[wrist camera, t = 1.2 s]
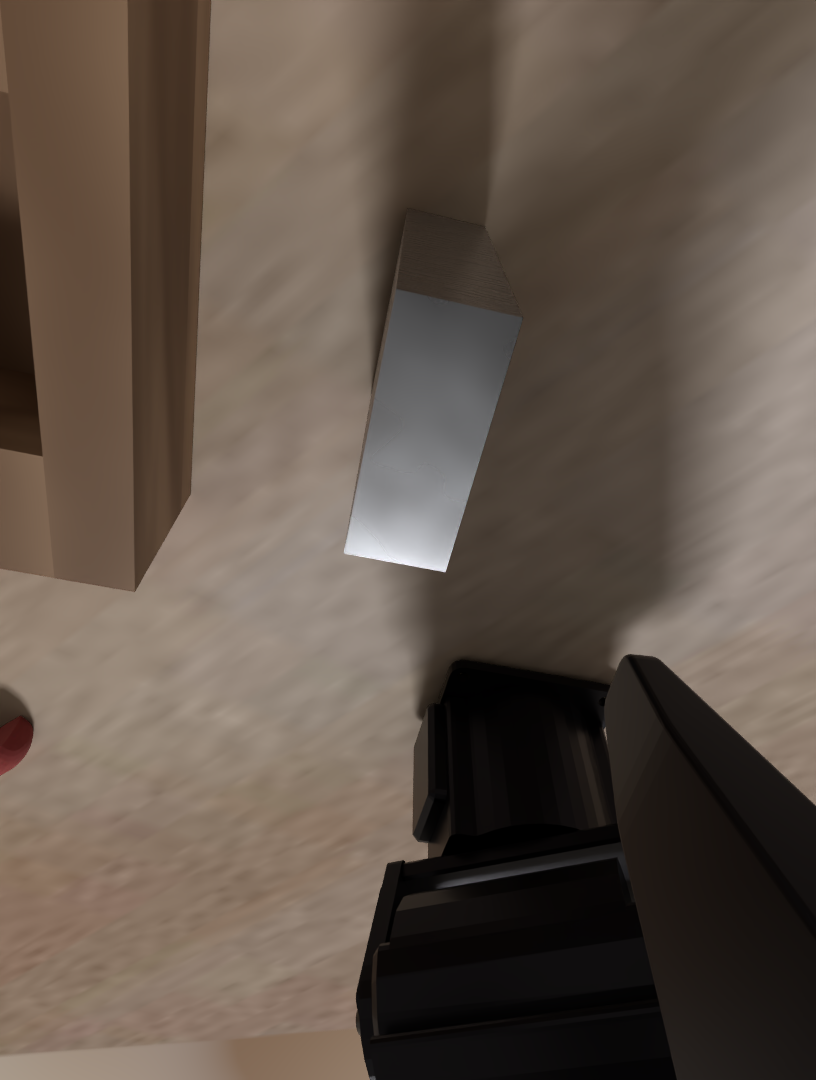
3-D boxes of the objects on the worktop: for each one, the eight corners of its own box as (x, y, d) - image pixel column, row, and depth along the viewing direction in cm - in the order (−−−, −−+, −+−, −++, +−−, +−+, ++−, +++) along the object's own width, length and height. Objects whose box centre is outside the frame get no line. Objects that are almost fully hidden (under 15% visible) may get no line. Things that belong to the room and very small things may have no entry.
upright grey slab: (485, 227, 17) (522, 317, 11) (438, 408, 20) (445, 572, 13) (407, 208, 17) (396, 288, 10) (371, 394, 20) (343, 553, 13)
